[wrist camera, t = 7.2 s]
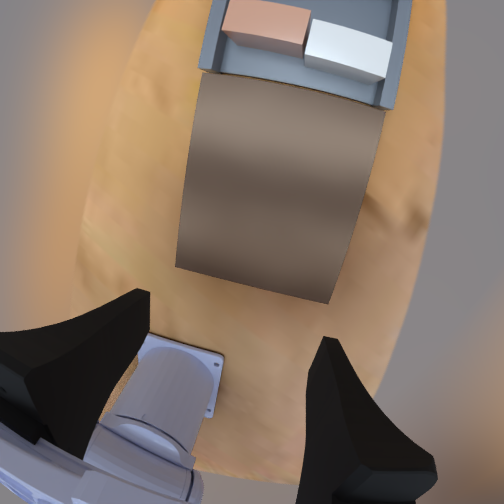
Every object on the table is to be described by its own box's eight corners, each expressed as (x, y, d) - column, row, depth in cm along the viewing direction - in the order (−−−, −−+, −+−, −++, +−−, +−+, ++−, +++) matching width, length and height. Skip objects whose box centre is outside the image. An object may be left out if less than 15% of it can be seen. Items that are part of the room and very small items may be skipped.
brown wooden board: (326, 281, 23) (328, 304, 20) (190, 248, 23) (175, 266, 21) (374, 112, 18) (385, 111, 15) (216, 78, 18) (202, 72, 15)
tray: (382, 110, 17) (400, 109, 14) (210, 72, 18) (188, 64, 14) (403, -3, 14) (421, -24, 10) (235, -37, 14) (221, -64, 11)
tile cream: (385, 78, 13) (392, 42, 12) (304, 53, 13) (313, 18, 12) (369, 85, 16) (375, 56, 16) (304, 66, 17) (311, 37, 16)
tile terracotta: (302, 44, 13) (311, 10, 12) (221, 29, 13) (231, -4, 12) (302, 59, 16) (310, 30, 16) (237, 45, 17) (245, 17, 16)
